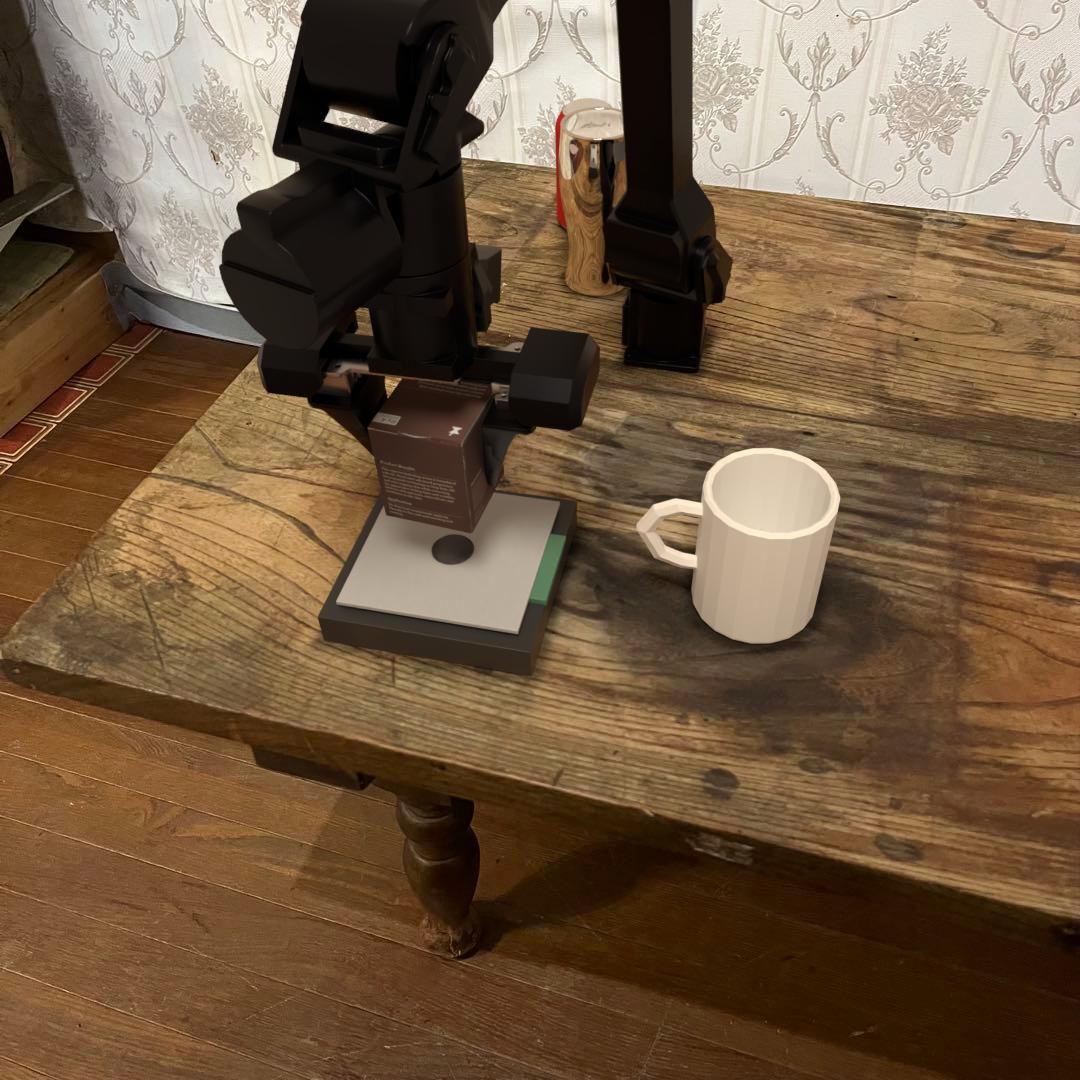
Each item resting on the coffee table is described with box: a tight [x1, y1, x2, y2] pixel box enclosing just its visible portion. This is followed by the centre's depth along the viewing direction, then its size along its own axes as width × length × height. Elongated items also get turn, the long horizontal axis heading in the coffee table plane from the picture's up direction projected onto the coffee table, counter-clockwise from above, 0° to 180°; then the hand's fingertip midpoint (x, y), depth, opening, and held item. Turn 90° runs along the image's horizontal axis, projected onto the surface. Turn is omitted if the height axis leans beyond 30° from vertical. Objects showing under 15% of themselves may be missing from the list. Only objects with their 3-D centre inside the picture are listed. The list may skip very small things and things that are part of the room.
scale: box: [317, 489, 578, 677], centre depth 70 cm, size 14×14×3 cm
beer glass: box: [559, 107, 626, 297], centre depth 93 cm, size 7×7×15 cm
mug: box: [635, 447, 841, 645], centre depth 66 cm, size 8×12×10 cm
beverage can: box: [554, 97, 613, 230], centre depth 101 cm, size 6×6×12 cm
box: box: [367, 378, 505, 534], centre depth 63 cm, size 6×6×7 cm
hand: (443, 474), depth 64 cm, fingers closed on box, 6 cm apart
